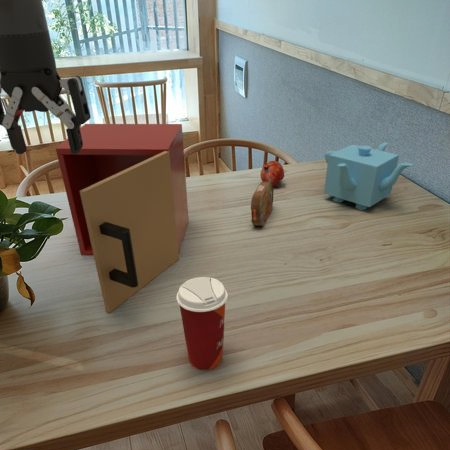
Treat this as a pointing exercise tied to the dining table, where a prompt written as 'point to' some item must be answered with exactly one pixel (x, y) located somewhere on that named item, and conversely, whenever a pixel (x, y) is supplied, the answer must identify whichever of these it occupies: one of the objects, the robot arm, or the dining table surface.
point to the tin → (262, 203)
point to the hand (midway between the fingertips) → (48, 152)
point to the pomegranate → (272, 173)
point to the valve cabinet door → (132, 227)
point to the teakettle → (361, 174)
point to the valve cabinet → (121, 166)
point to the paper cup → (203, 320)
